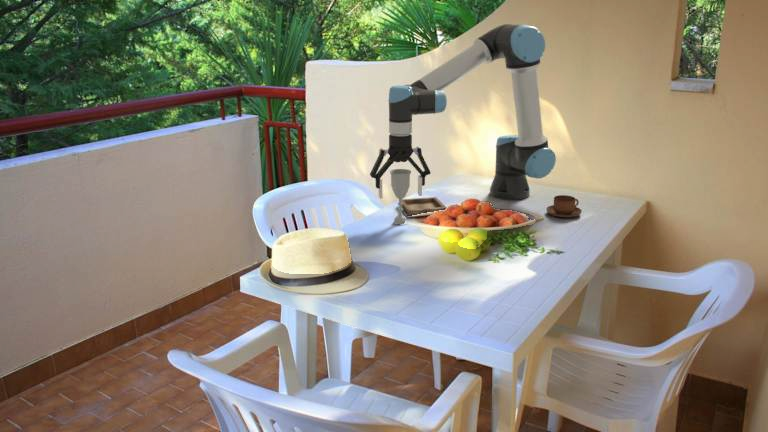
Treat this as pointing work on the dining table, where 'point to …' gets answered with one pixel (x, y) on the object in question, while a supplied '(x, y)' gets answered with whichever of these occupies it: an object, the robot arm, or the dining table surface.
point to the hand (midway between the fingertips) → (400, 196)
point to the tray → (422, 205)
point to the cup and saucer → (564, 207)
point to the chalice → (400, 189)
